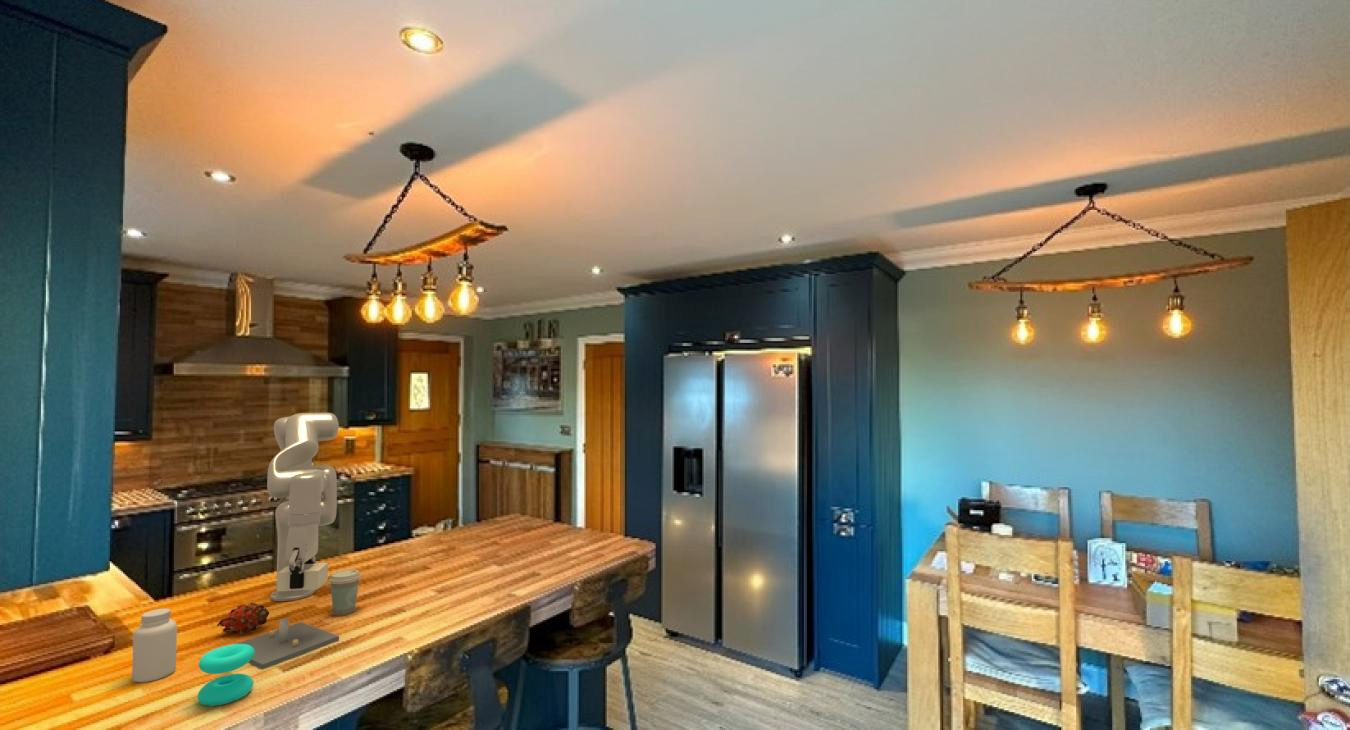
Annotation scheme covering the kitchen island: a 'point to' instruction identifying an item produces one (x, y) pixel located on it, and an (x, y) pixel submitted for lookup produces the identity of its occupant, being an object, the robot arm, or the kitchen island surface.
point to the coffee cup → (344, 591)
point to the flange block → (312, 577)
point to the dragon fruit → (244, 618)
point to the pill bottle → (154, 646)
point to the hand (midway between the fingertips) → (302, 583)
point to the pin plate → (287, 643)
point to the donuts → (227, 685)
